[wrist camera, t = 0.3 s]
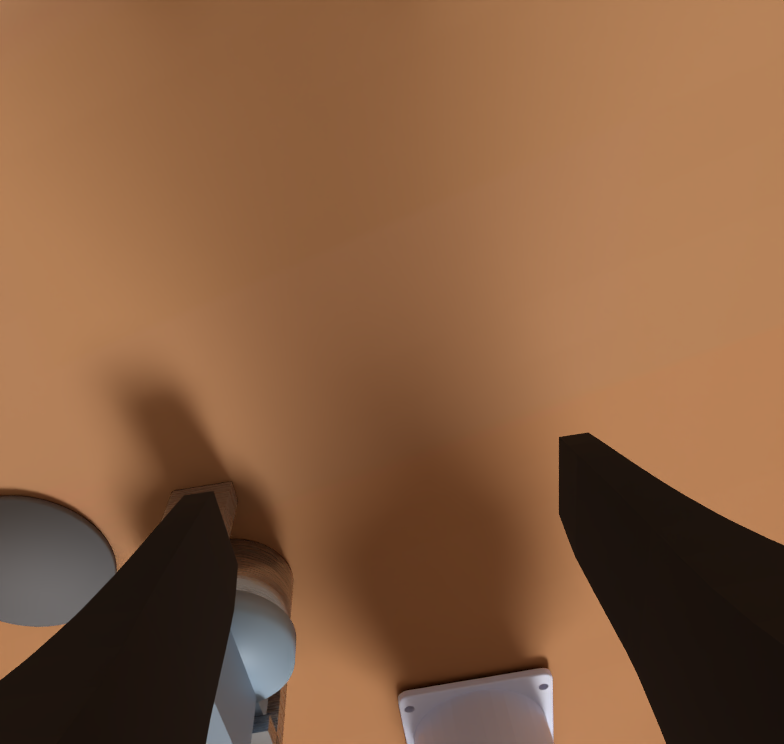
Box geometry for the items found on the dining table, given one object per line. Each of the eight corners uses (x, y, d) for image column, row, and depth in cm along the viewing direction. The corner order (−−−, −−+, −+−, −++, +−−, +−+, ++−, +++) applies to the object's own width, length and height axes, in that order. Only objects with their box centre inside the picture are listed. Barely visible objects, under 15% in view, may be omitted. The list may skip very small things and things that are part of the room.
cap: (313, 691, 26) (310, 791, 22) (185, 712, 26) (161, 817, 22) (272, 554, 22) (259, 648, 18) (121, 579, 22) (79, 679, 18)
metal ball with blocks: (315, 653, 29) (312, 759, 25) (213, 670, 29) (191, 779, 24) (263, 476, 24) (247, 569, 20) (140, 496, 24) (95, 594, 19)
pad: (139, 606, 27) (137, 612, 26) (-17, 632, 26) (-21, 638, 26) (80, 482, 23) (77, 487, 23) (-98, 511, 23) (-104, 516, 23)
